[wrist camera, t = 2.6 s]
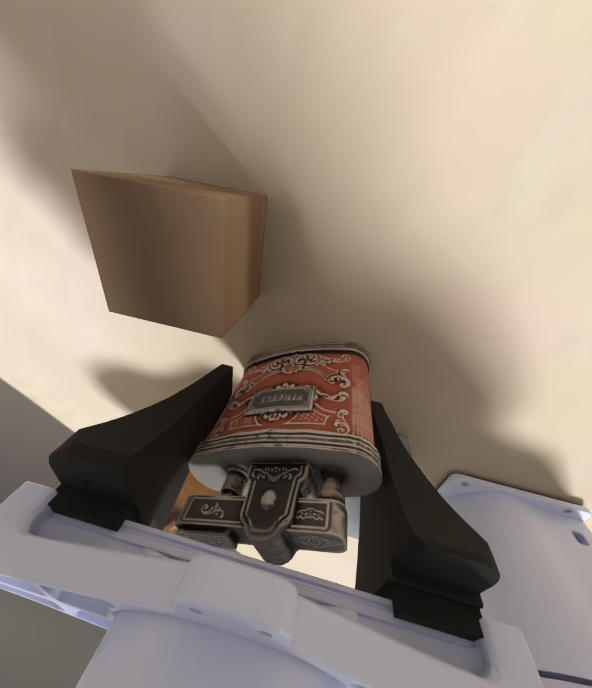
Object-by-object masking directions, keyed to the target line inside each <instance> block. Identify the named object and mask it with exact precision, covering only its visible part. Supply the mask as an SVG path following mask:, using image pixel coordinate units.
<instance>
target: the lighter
mask: <svg viewBox="0 0 592 688" xmlns="http://www.w3.org/2000/svg"><path fill="white" fill-rule="evenodd" d="M370 372H371V365H370V357H369V354H368V352H367V350H366V349H365V348H364V347H363V346H362V345H360V344H358V343H356V342H351V341H319V342H308V343H298V344H293V345H289V346H284V347H280V348H276V349H272V350H270V351H267V352H264V353H261V354H258V355H256V356H254V357H252V358H251V359H250V361H249V362H248V364H247V366H246V367H245V369H244V374H243V376H244V377H243V378H242V380H241V382H240V383H239V385H238V387H237V389H236V390H235V392H234V394H233V395H232V397H231V399H230V400H229V402H228V404H227V406H226V407H225V409H224V411H223V412H222V414H221V416H220V418H219V419H218V421H217V423H216V424H215V426H214V428H213V430H212V431H211V433H210V435H209V436H208V438H207V440H205V441H203V442H201V443H200V444H199V445H198V447H197V448H196V450H195V452H194V453H193V455H192V457H191V458H190V460H189V462H188V465H189V470H190V472H191V473H192V475H193V476H194V477H195V478H196V479H197V480H198V481H199V482H200V483H202V484H203V485H205V486H206V487H208V488H210V489H212V490H215V491H219V492H221V494H222V495H190V496H189V497H188V499H187V501H186V503H185V504H184V506H183V508H182V510H181V512H180V514H179V516H178V518H177V519H176V521H175V523H174V526H175V528H176V529H177V531H176V533H175V535H178V536H182V537H185V538H188V539H192V540H195V541H198V542H202V543H205V544H208V545H211V546H215V547H219V548H228V549H229V548H230V549H236V548H237V545H238V544H247V545H253V546H254V547H255V548H256V550H257V551H258V553H259V554H260V555H261V557H262V558H263V560H265V561H266V562H268V563H271V564H274V565H283V564H286V563H288V562H289V561H290V560H291V559H292V558H293V556H294V554H295V553H296V552H297V551H298V550H310V551H320V552H330V553H343V552H345V551H346V550H347V521H348V514H347V509H346V507H345V498H347V497H358V496H365V495H369V494H371V493H373V492H375V491H376V490H378V488H379V487H380V485H381V484H382V470H381V460H380V455H379V453H378V451H377V449H376V448H375V447H374V436H373V424H372V413H371V401H370V390H369V378H368V377H369V375H370ZM242 495H244V496H242Z"/></svg>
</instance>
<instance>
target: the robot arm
mask: <svg viewBox="0 0 592 688" xmlns="http://www.w3.org/2000/svg"><path fill="white" fill-rule="evenodd" d="M232 377H233V367H232V366H228V365H224V364H222V365H220V366H219V367H217V368H216V369H214V370H213V371H211V372H210V373H208V374H207V375H205V376H204V377H202V378H201V379H199V380H198V381H196V382H195V383H193V384H191V385H190V386H188V387H187V388H185V389H183V390H181V391H180V392H178V393H176V394H174V395H173V396H171V397H169V398H167V399H165V400H163V401H161V402H159V403H156V404H154V405H152V406H149V407H147V408H145V409H142V410H140V411H137V412H135V413H132V414H129V415H126V416H123V417H120V418H117V419H114V420H111V421H108V422H104V423H101V424H97V425H93V426H90V427H86V428H82V429H79V430H78V431H77V432H75V433H74V434H73V435H72V436H71V437H70V438H68V439H67V440H66V441H65V442H64V443H63V444H62V445H61V446H60V447H58V448H57V449H56V450H55V451H54V452H53V453H51V455H50V456H49V464H50V466H51V468H52V470H53V471H54V473H55V475H56V476H57V478H58V479H59V481H60V482H61V485H60V486H59V487H58V488H57V489H56V490H55V489H52V488H50V487H47V486H43V485H40V484H37V483H33V482H30V481H28V482H25V483H24V484H23V485H22V486H20V487H19V488H18V489H17V490H16V491H15V492H14V493H13V494H11V495H10V496H9V497H8V498H7V499H6V500H5V501H4V502H3V503H2V504H0V589H3V590H6V591H9V592H12V593H14V594H17V595H20V596H23V597H25V598H28V599H31V600H33V601H36V602H38V603H41V604H44V605H46V606H49V607H51V608H54V609H56V610H59V611H62V612H64V613H67V614H69V615H72V616H74V617H77V618H79V619H82V620H85V621H87V622H89V623H92V624H95V625H97V626H100V627H102V628H105V629H107V632H106V634H105V636H104V637H103V639H102V641H101V643H100V645H99V647H98V648H97V650H96V652H95V654H94V656H93V657H92V659H91V661H90V663H89V664H88V666H87V668H86V670H85V672H84V673H83V675H82V677H81V679H80V681H79V683H78V684H77V686H76V688H592V533H591V532H590V530H589V529H588V527H587V526H586V524H585V523H584V522H583V521H585V520H586V519H588V518H590V517H591V513H590V511H589V510H588V509H587V508H586V507H583V506H580V505H576V504H572V503H568V502H564V501H561V500H557V499H553V498H549V497H545V496H541V495H538V494H534V493H530V492H526V491H522V490H519V489H515V488H511V487H507V486H503V485H500V484H496V483H492V482H488V481H484V480H481V479H477V478H473V477H469V476H465V475H462V474H452V475H450V476H449V477H448V478H447V480H446V481H445V482H444V483H443V484H442V485H441V487H440V488H439V489H438V490H436V489H435V488H434V486H433V485H432V484H431V483H430V482H429V480H428V479H427V478H426V477H425V475H424V474H423V473H422V471H421V470H420V469H419V467H418V466H417V465H416V463H415V462H414V460H413V459H412V457H411V456H410V454H409V453H408V451H407V449H406V448H405V446H404V445H403V443H402V441H401V439H400V438H399V436H398V434H397V432H396V431H395V429H394V427H393V425H392V423H391V421H390V419H389V417H388V415H387V413H386V411H385V409H384V407H383V405H382V404H381V403H378V402H374V401H371V413H372V424H373V436H374V447H375V448H376V449H377V451H378V453H379V455H380V460H381V470H382V484H381V485H380V487H379V488H378V490H376V491H375V492H373V493H371V494H369V495H365V496H360V523H359V543H358V559H357V572H356V584H355V589H353V588H350V587H347V586H343V585H340V584H337V583H334V582H330V581H327V580H324V579H320V578H317V577H314V576H310V575H307V574H304V573H301V572H297V571H294V570H291V569H287V568H284V567H281V566H277V565H274V564H271V563H268V562H264V561H261V560H258V559H254V558H251V557H248V556H244V555H241V554H238V553H234V552H231V551H228V550H225V549H221V548H218V547H215V546H211V545H208V544H205V543H202V542H198V541H195V540H192V539H188V538H185V537H182V536H178V535H175V534H172V533H169V532H165V531H163V530H164V527H165V525H166V522H167V520H168V518H169V515H170V513H171V511H172V508H173V506H174V504H175V502H176V499H177V497H178V495H179V493H180V490H181V488H182V486H183V484H184V482H185V480H186V478H187V475H188V473H189V471H190V470H189V465H188V462H189V460H190V458H191V457H192V455H193V453H194V452H195V450H196V448H197V447H198V445H199V444H200V443H201V442H203V441H205V440H206V439H207V438H208V436H209V434H210V433H211V431H212V430H213V428H214V426H215V424H216V423H217V421H218V419H219V418H220V416H221V414H222V412H223V411H224V409H225V407H226V406H227V404H228V402H229V400H230V397H231V395H232Z"/></svg>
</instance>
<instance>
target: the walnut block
mask: <svg viewBox="0 0 592 688" xmlns="http://www.w3.org/2000/svg"><path fill="white" fill-rule="evenodd" d="M71 170H72V169H71ZM72 174H73V178H74V182H75V185H76V189H77V193H78V197H79V200H80V204H81V208H82V212H83V215H84V219H85V223H86V227H87V230H88V234H89V238H90V242H91V245H92V249H93V253H94V257H95V260H96V264H97V268H98V272H99V275H100V279H101V283H102V287H103V290H104V294H105V298H106V302H107V305H108V309H109V311H110V312H114V313H118V314H122V315H126V316H131V317H135V318H139V319H143V320H147V321H151V322H156V323H160V324H164V325H168V326H172V327H177V328H181V329H185V330H189V331H193V332H197V333H202V334H206V335H210V336H214V337H218V338H222V337H223V336H224V335H225V334H226V332H227V331H228V330H229V329H230V328H231V327H232V326H233V325H234V323H235V322H236V321H237V320H238V319H239V318H240V317H241V316H242V314H243V313H244V312H245V311H246V310H247V309H248V308H249V307H250V305H251V304H252V303H253V302H254V301H255V300H256V299H257V297H258V296H259V288H260V275H261V263H262V251H263V238H264V226H265V213H266V201H267V196H266V195H261V194H256V193H251V192H245V191H240V190H235V189H230V188H224V187H219V186H214V185H209V184H203V183H198V182H193V181H188V180H182V179H177V178H172V177H167V176H153V175H140V174H126V173H113V172H99V171H86V170H72Z"/></svg>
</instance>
